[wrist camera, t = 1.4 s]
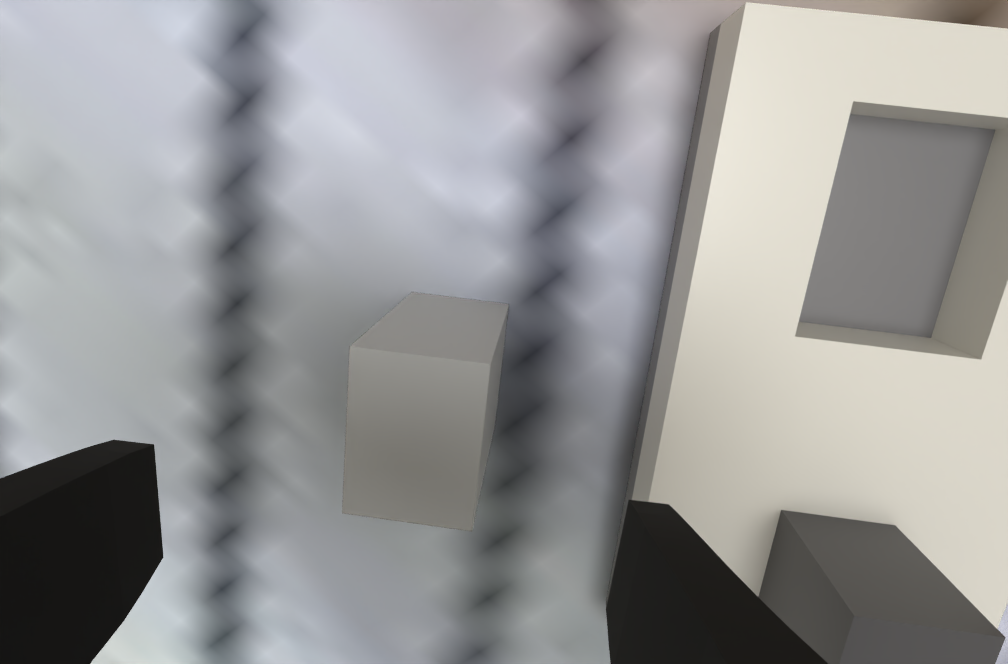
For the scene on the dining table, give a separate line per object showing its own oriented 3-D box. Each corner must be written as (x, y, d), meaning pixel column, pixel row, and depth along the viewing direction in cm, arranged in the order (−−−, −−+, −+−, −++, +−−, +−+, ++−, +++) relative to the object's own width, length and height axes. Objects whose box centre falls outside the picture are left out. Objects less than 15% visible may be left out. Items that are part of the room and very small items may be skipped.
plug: (495, 424, 19) (472, 531, 14) (403, 412, 20) (342, 513, 14) (509, 303, 18) (490, 364, 13) (412, 291, 18) (349, 346, 13)
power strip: (901, 644, 20) (967, 732, 17) (605, 602, 21) (616, 680, 18) (1098, 73, 16) (1239, 47, 12) (710, 32, 16) (750, -2, 13)
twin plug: (855, 648, 17) (945, 788, 13) (748, 633, 17) (806, 767, 13) (895, 525, 16) (1005, 637, 12) (781, 509, 16) (854, 616, 12)
